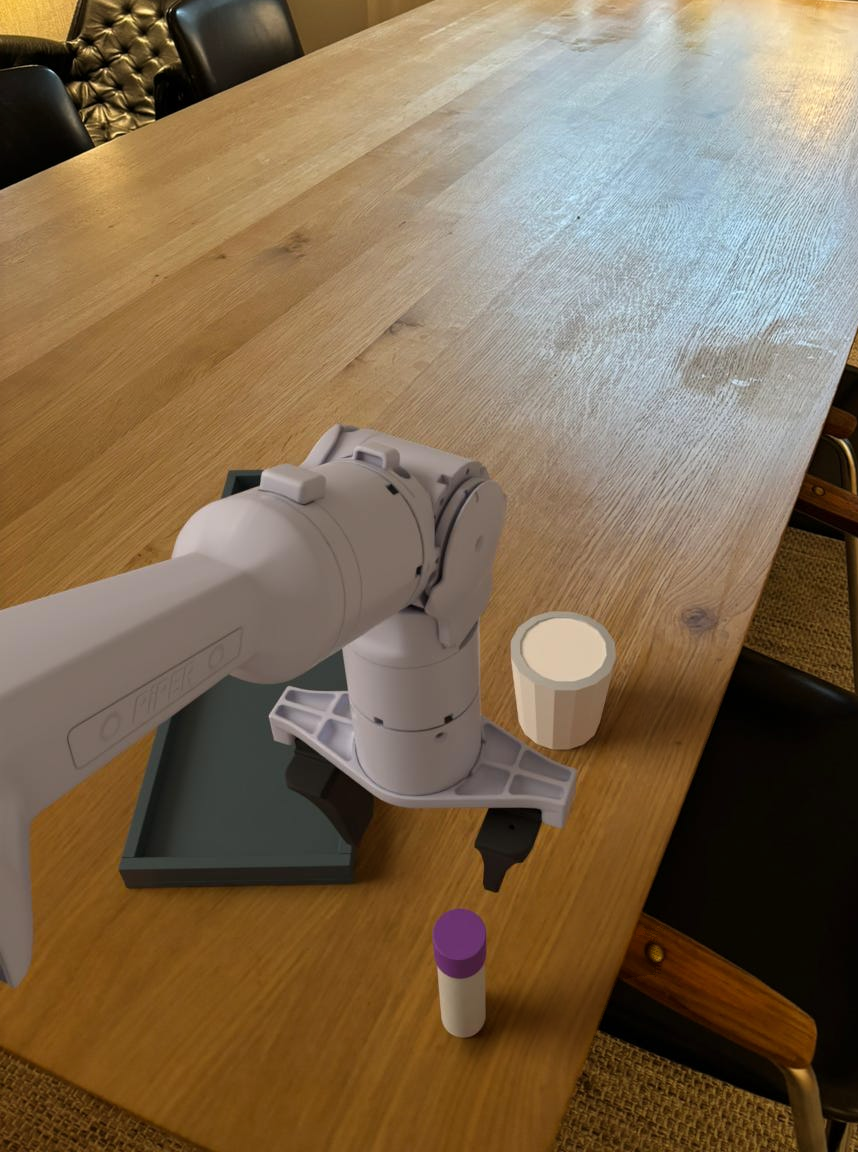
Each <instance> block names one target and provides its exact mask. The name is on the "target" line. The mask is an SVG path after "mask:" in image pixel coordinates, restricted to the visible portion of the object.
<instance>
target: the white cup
mask: <svg viewBox="0 0 858 1152" xmlns="http://www.w3.org/2000/svg"><path fill="white" fill-rule="evenodd" d="M616 651H617V650H616V643H615V640H614V639H613V637H612V636H611V634H610V633H609V631H608V629H607V628H606V627H605V626H603V624H600V623H599V622H598V621H596V620H594V619H593V618H592V617H591V616H587V615H584V614H580V613H577V612H574V611H567V610H566V611H565V610H564V611H554V610H553V611H547V612H544V613H540V614H537V615H534V616H532V617H530V618H529V619H528V620H526V621H525V622H523V623H522V624H521V625H519V626H517V629H516V631H515V633H514V634H513V636H512V638H511V639H510V661H511V669H512V678H513V686H514V694H515V703H516V711H517V718H518V719H517V721H518V724H519V726H520V728H521V729H522V731H523V733H524V735H525V736H526V737H528V738H529V739H530V740H532V742H533V743H535V744H536V745H538V746H541V747H544V748H547V749H549V750H572V749H574V748H577V747H581V746H583V745H585V744H586V743H587V742H588V741H590V740H591V739H592V738H593V737H594V736H595V735H596V732H597V731H598V728H599V726H600V723H601V718H602V715H603V711H604V707H605V703H606V701H607V700H606V698H607V695H608V692H609V687H610V683H611V679H612V676H613V672H614V668H615V664H616V660H617V652H616Z"/></svg>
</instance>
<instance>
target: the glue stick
mask: <svg viewBox="0 0 858 1152" xmlns="http://www.w3.org/2000/svg"><path fill="white" fill-rule="evenodd" d="M432 945H433V957H434V961H435V964H436V968H437V983H438V995H439V1005H440V1018H441V1023H442V1025H443V1027H444V1029H445V1030H446V1032H447V1033H449V1034H450V1035H451V1036H454V1037H456V1038H461V1039H462V1038H463V1039H464V1038H470V1037H472V1036H474V1035H476V1034H477V1033H479V1032H480V1031H481V1030H482V1028H483V1027H484V1024H485V1022H486V1015H487V1013H486V1009H487V1008H486V965H485V964H486V959H487V928H486V925H485V922H484V921H483V919H482V918H481V916H479V915H478V914H477V913H475V912H474V911H472V910H469V909H466V908H454V909H450V910H448V911H446V912H444V913H443V914H441V916H439V917H438V919H437V920H436V921H435V923H434V926H433V929H432Z"/></svg>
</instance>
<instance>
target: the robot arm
mask: <svg viewBox="0 0 858 1152" xmlns="http://www.w3.org/2000/svg"><path fill="white" fill-rule="evenodd" d="M263 470H264V471H263V472H262V475H261V483H260V486H258V487H255V488H252V489H249V490H246V491H244V492H241V493H238V494H235V495H232V496H229V497H227V498H224V499H221V498H220V499H218V500H215V501H212V502H210V503H208V504H206V505H205V506H203V507H201V508H199V509H198V510H197V511H196V512H195V513H194V514H193V515H191V516H190V517H189V518H188V520H187V521H186V522H185V523H184V525H183V527H182V528H181V530H180V532H179V534H178V535H177V537H176V540H175V543H174V547H173V550H172V553H171V558H169V559H167V560H163V561H159V562H157V563H153V564H149V565H146V566H143V567H140V568H137V569H133V570H130V571H126V572H123V573H120V574H117V575H113V576H110V577H107V578H103V579H100V580H96V581H93V582H89V583H87V584H83V585H80V586H76V587H73V588H70V589H67V590H63V591H60V592H57V593H54V594H50V595H47V596H44V597H40V598H37V599H36V598H35V599H34V600H30V601H27V602H24V603H20V604H17V605H13V606H10V607H7V608H6V607H5V608H4V609H0V982H2V983H3V984H5V985H6V986H9V987H10V988H12V989H16V988H17V987H19V985H20V984H21V983H22V981H23V980H24V979H25V977H26V975H27V974H28V972H29V969H30V967H31V965H32V964H31V963H32V960H33V952H34V951H33V948H34V931H35V930H34V913H33V898H32V897H33V896H32V882H31V881H32V880H31V825H32V822H33V821H34V819H36V818H37V817H38V815H39V814H41V813H42V812H43V811H44V810H46V809H48V807H50V806H52V805H53V804H54V803H55V802H57V801H58V800H59V799H61V798H62V797H64V796H65V795H66V794H68V793H69V792H70V791H72V790H73V789H74V788H76V787H77V786H79V785H80V784H82V783H83V782H85V781H86V780H87V779H88V778H90V777H91V776H92V775H94V774H95V773H97V772H98V771H99V770H101V769H102V768H103V767H105V766H106V765H107V764H109V763H110V762H112V761H113V760H114V759H116V758H117V757H118V756H120V755H121V754H122V753H124V752H125V751H127V750H128V749H129V748H131V747H132V746H133V745H134V744H136V743H138V741H140V740H141V739H143V738H144V737H146V736H147V735H148V734H150V733H151V732H153V730H155V729H157V727H158V726H159V725H160V724H162V723H163V722H165V721H166V720H167V719H169V718H170V717H171V716H173V715H174V714H175V713H177V712H178V711H180V710H181V709H182V708H184V707H185V706H186V705H188V704H189V703H190V702H192V701H193V700H195V699H196V698H197V697H199V696H200V695H201V694H203V693H204V692H205V691H207V690H208V689H210V688H211V687H212V686H214V685H215V684H216V683H218V682H219V681H220V680H222V679H223V678H225V677H226V676H227V675H229V674H230V675H231V676H234V677H236V678H239V679H241V680H244V681H248V682H251V683H258V684H277V683H283V682H287V681H289V680H292V679H294V678H296V677H298V676H299V675H301V674H303V673H305V672H306V671H308V670H309V669H311V668H312V667H314V666H316V665H317V664H318V663H320V662H321V661H323V660H325V659H326V658H328V657H329V656H331V655H333V654H334V653H336V652H337V651H339V650H340V649H342V651H343V657H344V664H345V671H346V678H347V685H348V691H312V690H305V689H300V688H296V687H291V686H288V687H287V688H286V690H285V691H284V693H283V694H282V696H281V697H280V699H279V700H278V702H277V704H276V705H275V707H274V708H273V710H272V711H271V713H270V714H269V719H270V724H271V728H272V733H273V737H274V741H277V742H280V743H283V744H287V745H293V744H295V746H296V748H295V749H294V754H295V755H294V756H293V758H292V760H291V761H290V763H289V765H288V766H287V768H286V771H285V779H286V784H287V787H288V789H290V790H293V791H295V792H297V793H299V794H300V795H302V796H304V797H305V798H307V799H308V800H309V801H311V802H312V803H313V804H314V805H316V806H317V807H318V808H319V809H320V810H321V811H322V812H323V813H324V815H325V816H326V817H327V818H328V819H329V821H330V822H331V823H332V824H333V826H334V827H335V829H336V830H337V831H338V833H339V834H340V836H341V837H342V838H343V840H344V841H345V842H346V843H347V844H349V845H352V846H355V847H357V848H358V847H359V845H360V843H361V841H362V839H363V838H364V835H365V833H366V831H367V829H368V828H369V825H370V823H371V821H372V819H373V818H374V813H375V797H376V798H377V799H378V800H381V801H382V802H385V803H387V804H389V805H393V806H396V807H399V808H400V807H401V808H406V809H487V810H486V814H485V816H484V818H483V821H482V823H481V826H480V828H479V830H478V833H477V834H476V838H475V840H474V843H473V844H474V845H473V847H474V848H475V849H476V850H477V851H478V852H479V855H480V856H481V859H482V863H483V876H482V885H483V889H484V890H486V891H488V892H492V893H495V894H497V893H500V890H501V887H502V884H503V882H504V879H505V877H506V875H507V874H506V873H507V872H508V871H509V870H510V869H511V867H514V865H516V864H523V863H524V862H525V861H526V859H527V858H528V856H529V855H530V854H531V852H532V850H533V848H534V846H535V843H536V840H537V837H538V834H539V831H540V828H541V826H542V823H543V824H545V825H548V826H551V827H554V828H557V829H560V830H563V829H565V826H566V823H567V820H568V818H569V814H570V811H571V810H572V809H571V808H572V806H573V802H574V799H575V797H576V792H577V791H576V789H577V788H576V787H577V779H578V769H576V768H575V767H571V766H568V765H566V764H565V765H564V764H562V763H560V762H558V761H555V760H553V759H552V758H549V757H547V756H546V755H544V754H543V753H540V752H539V751H538V750H536V749H534V748H533V747H531V746H530V745H529V744H527V743H525V742H524V741H522V740H521V739H519V738H518V737H517V736H515V735H513V734H512V733H510V732H509V731H507V730H506V729H504V728H503V727H501V726H500V725H498V724H496V723H495V722H493V721H492V720H491V719H489V718H487V717H486V716H484V715H483V714H482V706H481V705H482V699H481V695H482V693H481V692H482V691H481V627H480V626H481V621H480V620H481V619H480V618H481V616H482V614H483V613H484V611H485V610H486V609H487V607H488V606H489V604H490V599H491V593H492V591H493V589H494V568H495V567H494V566H495V561H496V557H497V552H498V550H499V547H500V543H501V539H502V536H503V531H504V527H505V522H506V517H507V510H508V494H507V493H504V491H503V488H502V486H501V485H500V483H499V482H497V481H496V480H492V479H491V478H490V474H489V472H488V469H487V467H486V466H483V463H482V462H480V461H479V460H475V459H471V458H468V457H465V456H461V455H457V454H454V453H451V452H448V451H444V450H442V449H438V448H434V447H432V446H428V445H425V444H421V443H418V442H414V441H412V440H408V439H406V438H401V437H399V436H396V435H392V434H388V433H385V432H382V431H379V430H376V429H372V428H366V427H365V428H359V427H357V426H355V425H348V424H347V425H343V424H342V423H336V424H334V425H333V426H332V427H330V428H329V429H328V430H327V431H326V432H325V433H324V434H323V435H322V436H321V437H320V438H319V439H318V441H317V442H316V443H315V445H314V446H313V447H312V449H311V451H310V452H309V454H308V455H307V457H306V458H305V460H303V462H302V463H300V464H299V465H294V464H291V463H289V462H287V463H286V462H285V463H281V464H278V465H276V466H272V467H269V468H265V469H263Z"/></svg>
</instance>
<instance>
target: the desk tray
mask: <svg viewBox="0 0 858 1152" xmlns="http://www.w3.org/2000/svg"><path fill="white" fill-rule="evenodd" d="M264 470H265V469H228V472H227V475H226V479H225V482H224V485H223V489H222V493H221V497H220V499H224V498H227V497H229V496H232V495H235V494H238V493H241V492H244V491H246V490H249V489H252V488H255V487H258V486H260V483H261V475H262V472H263V471H264ZM288 686H291V687H296V688H300V689H305V690H312V691H348V685H347V678H346V671H345V664H344V657H343V651H342V649H340V650H339V651H337V652H336V653H334V654H333V655H331V656H329V657H328V658H326V659H325V660H323V661H321V662H320V663H318V664H317V665H316V666H314V667H312V668H311V669H309V670H308V671H306V672H305V673H303V674H301V675H299V676H298V677H296V678H294V679H292V680H289V681H287V682H283V683H277V684H258V683H251V682H248V681H244V680H241V679H239V678H236V677H234V676H231V675H230V674H229V675H227V676H226V677H225V678H223V679H222V680H220V681H219V682H218V683H216V684H215V685H214V686H212V687H211V688H210V689H208V690H207V691H205V692H204V693H203V694H201V695H200V696H199V697H197V698H196V699H195V700H193V701H192V702H190V703H189V704H188V705H186V706H185V707H184V708H182V709H181V710H180V711H178V712H177V713H175V714H174V715H173V716H171V717H170V718H169V719H167V720H166V721H165V722H163V723H162V724H160V725H159V726H158V727H156V731H155V734H154V738H153V742H152V745H151V749H150V752H149V756H148V760H147V764H146V767H145V771H144V775H143V777H142V781H141V784H140V785H141V786H140V789H139V792H138V796H137V799H136V803H135V806H134V810H133V815H132V818H131V821H130V825H129V828H128V833H127V836H126V839H125V843H124V847H123V849H122V854H121V858H120V861H119V864H118V868H117V869H118V872H119V873H118V874H119V875H120V877H121V880H122V882H123V884H124V886H125V888H127V889H135V888H137V889H139V888H140V889H141V888H142V889H143V888H145V889H146V888H192V887H193V888H195V887H196V888H197V887H198V888H200V887H201V888H202V887H250V886H252V887H253V886H256V887H257V886H304V885H305V886H307V885H308V886H309V885H310V886H311V885H312V886H313V885H354V880H355V871H356V859H357V857H356V855H357V848H358V847H355V846H352V845H349V844H347V843H346V842H345V841H344V840H343V838H342V837H341V836H340V834H339V833H338V831H337V830H336V829H335V827H334V826H333V824H332V823H331V822H330V821H329V819H328V818H327V817H326V816H325V815H324V813H323V812H322V811H321V810H320V809H319V808H318V807H317V806H316V805H314V804H313V803H312V802H311V801H309V800H308V799H307V798H305V797H304V796H302V795H300V794H299V793H297V792H295V791H293V790H290V789H288V787H287V784H286V779H285V771H286V768H287V766H288V765H289V763H290V761H291V760H292V758H293V756H294V755H295V754H294V749H295V748H296V746H295V744H293V745H287V744H283V743H280V742H277V741H274V737H273V733H272V728H271V724H270V719H269V714H270V713H271V711H272V710H273V708H274V707H275V705H276V704H277V702H278V700H279V699H280V697H281V696H282V694H283V693H284V691H285V690H286V688H287V687H288Z"/></svg>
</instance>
